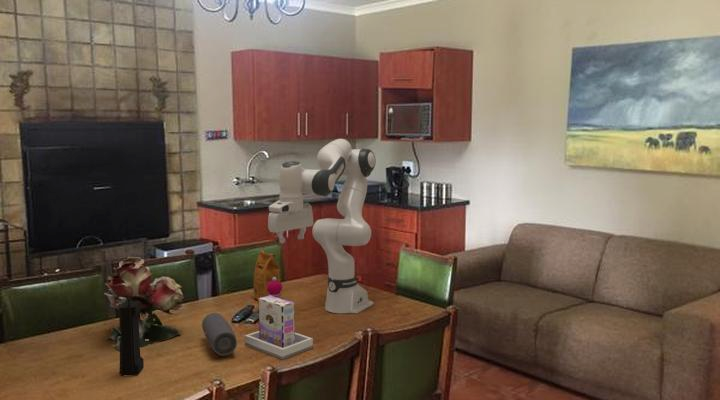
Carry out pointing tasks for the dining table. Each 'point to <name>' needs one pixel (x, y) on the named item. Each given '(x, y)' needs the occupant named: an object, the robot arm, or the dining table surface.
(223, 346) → the bluetooth speaker
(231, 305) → the dining table surface
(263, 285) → the coffee package
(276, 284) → the pepper mill
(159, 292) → the rose bouquet
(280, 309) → the candy box
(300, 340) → the white tray
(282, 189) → the robot arm
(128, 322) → the portable radio
